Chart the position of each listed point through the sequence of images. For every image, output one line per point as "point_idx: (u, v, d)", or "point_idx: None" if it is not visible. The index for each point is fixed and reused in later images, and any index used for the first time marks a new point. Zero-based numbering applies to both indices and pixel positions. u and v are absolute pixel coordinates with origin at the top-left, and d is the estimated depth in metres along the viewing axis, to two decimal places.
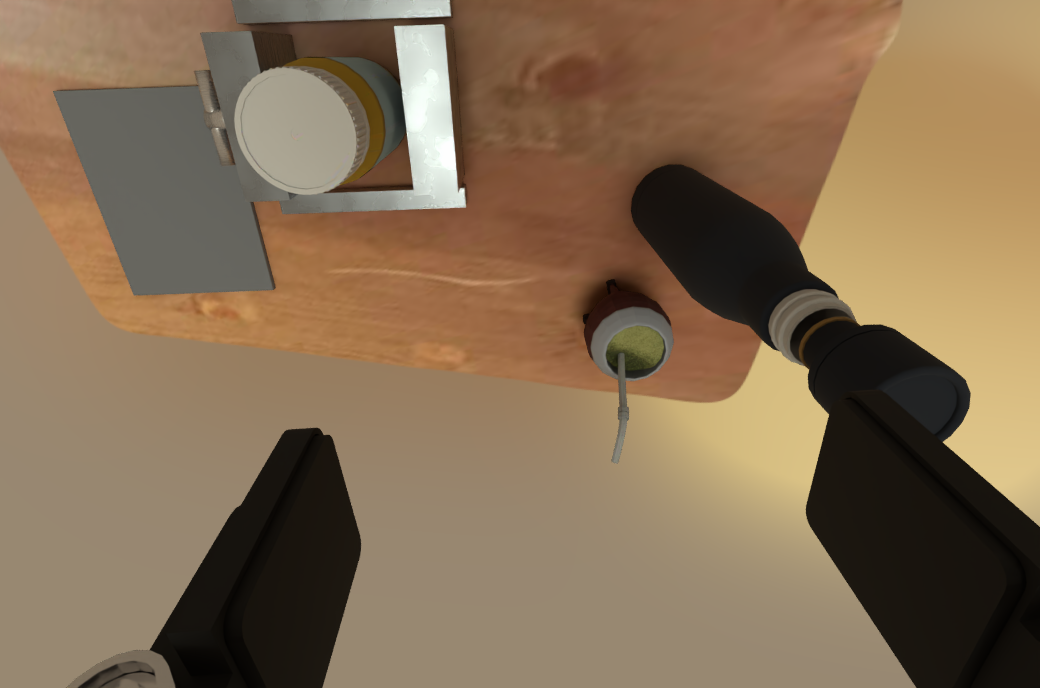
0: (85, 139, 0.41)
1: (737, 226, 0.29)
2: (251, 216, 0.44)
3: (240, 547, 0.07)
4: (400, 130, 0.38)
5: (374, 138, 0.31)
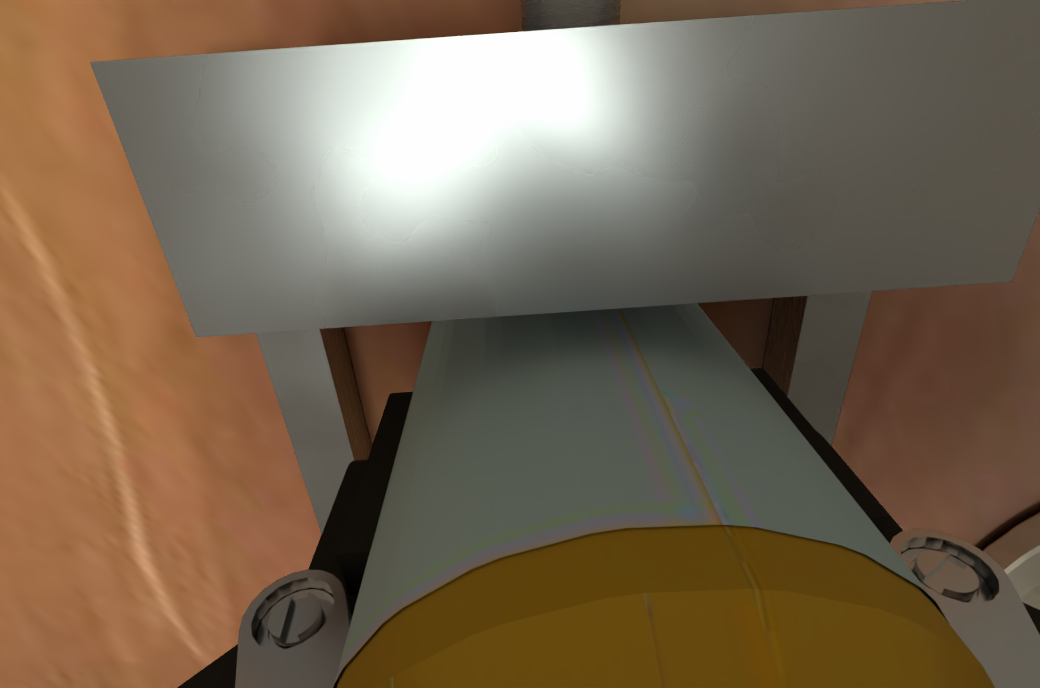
0: None
1: None
2: None
3: (380, 487, 0.08)
4: None
5: None
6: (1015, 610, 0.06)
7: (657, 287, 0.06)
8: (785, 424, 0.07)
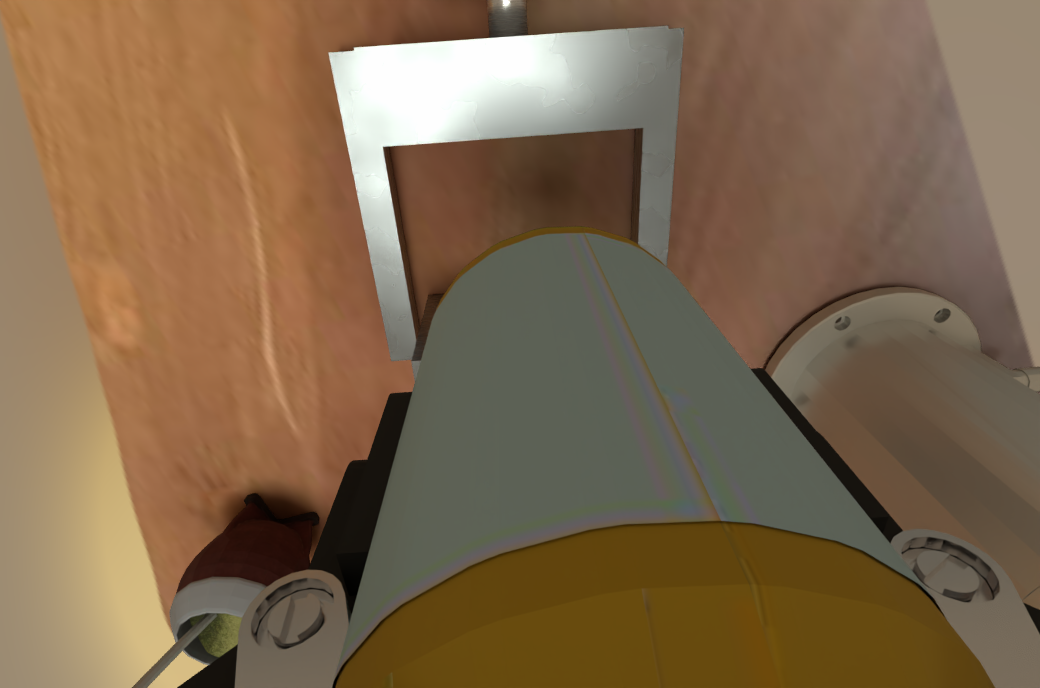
0: None
1: None
2: None
3: (380, 487, 0.08)
4: None
5: None
6: (1015, 610, 0.06)
7: (536, 128, 0.18)
8: (784, 422, 0.07)
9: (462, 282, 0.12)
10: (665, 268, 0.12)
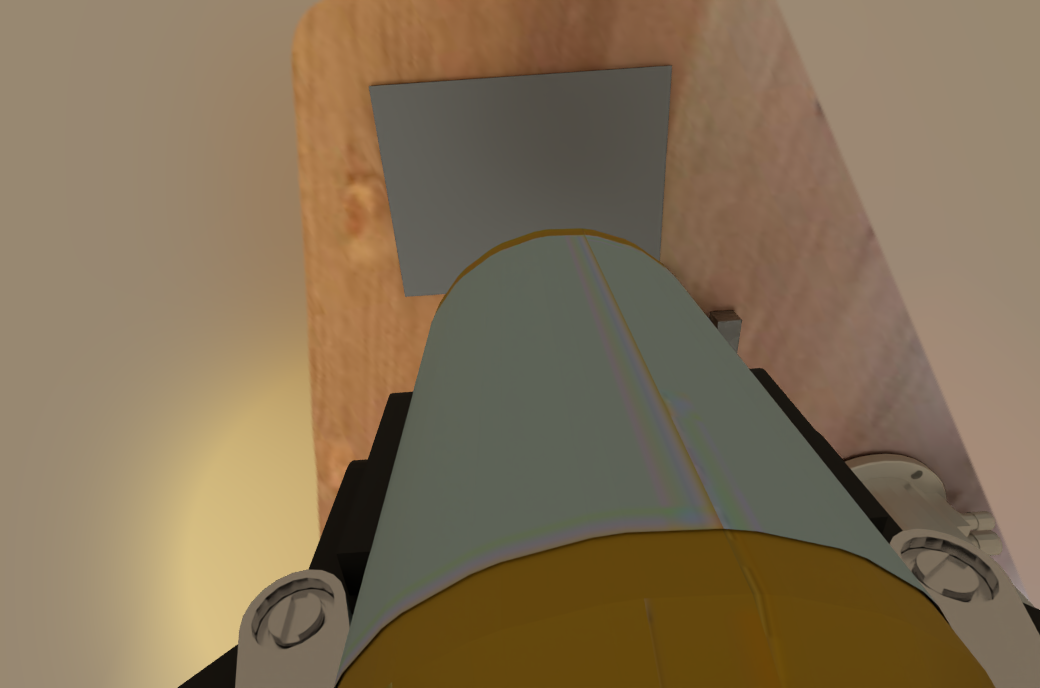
0: (608, 89, 0.29)
1: None
2: None
3: (380, 487, 0.08)
4: None
5: None
6: (1015, 610, 0.06)
7: None
8: (786, 426, 0.07)
9: (462, 284, 0.12)
10: (665, 270, 0.12)
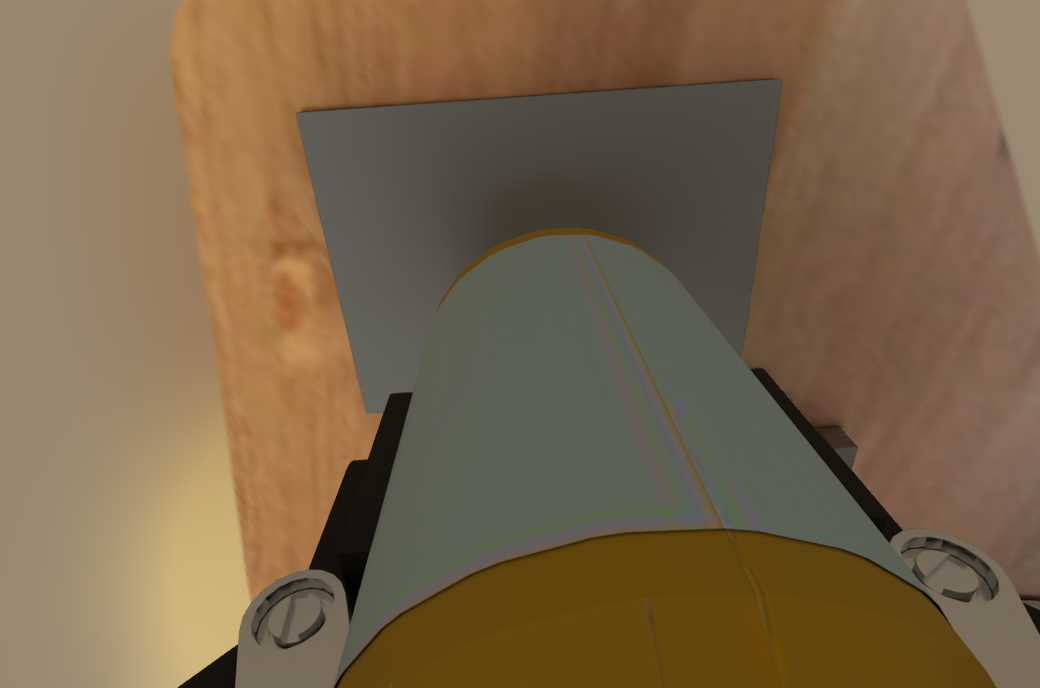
0: (678, 117, 0.18)
1: None
2: None
3: (380, 487, 0.08)
4: None
5: None
6: (1015, 610, 0.06)
7: None
8: (786, 426, 0.07)
9: (462, 284, 0.12)
10: (666, 270, 0.12)
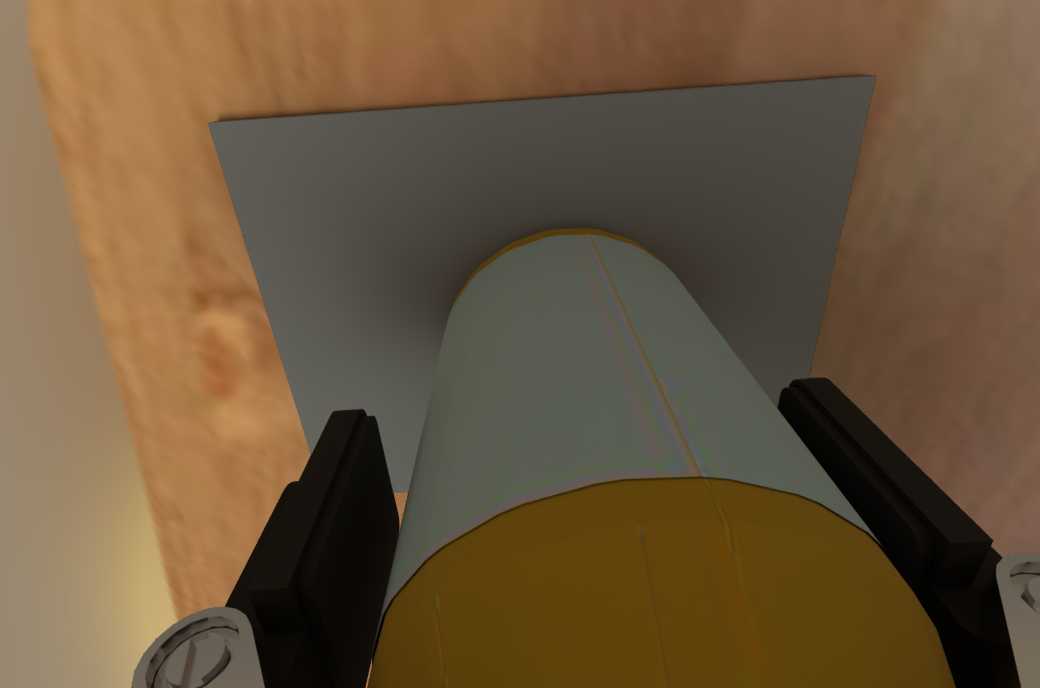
0: (731, 128, 0.13)
1: None
2: None
3: (305, 515, 0.07)
4: None
5: None
6: None
7: None
8: (764, 403, 0.08)
9: (478, 280, 0.13)
10: (665, 267, 0.13)
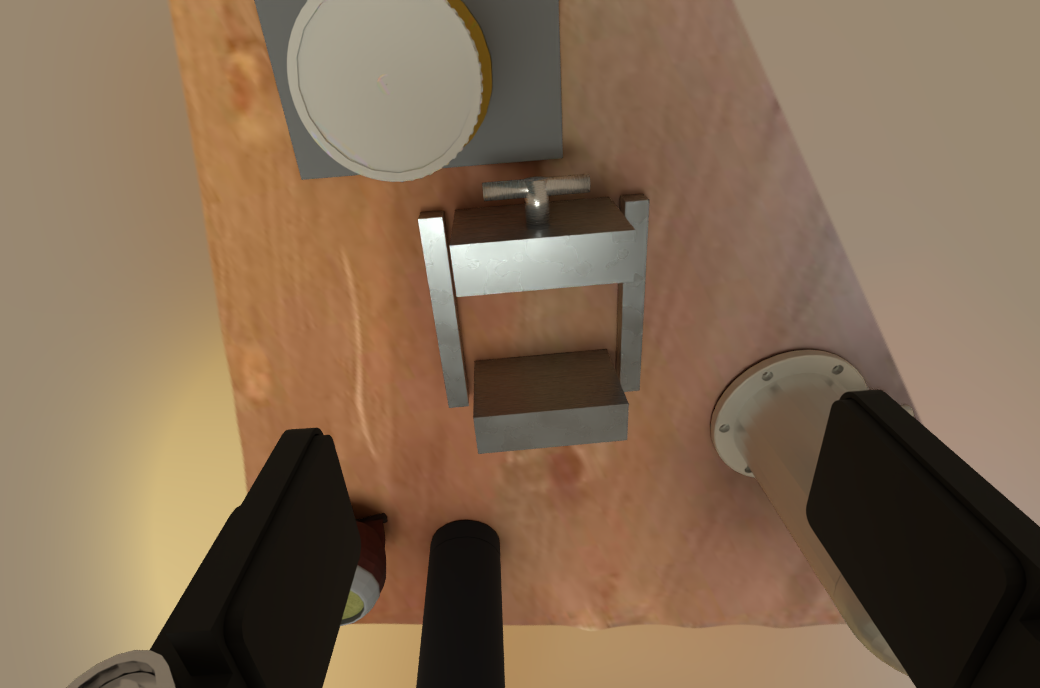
0: None
1: None
2: None
3: (240, 547, 0.07)
4: None
5: None
6: None
7: (556, 284, 0.30)
8: None
9: None
10: None
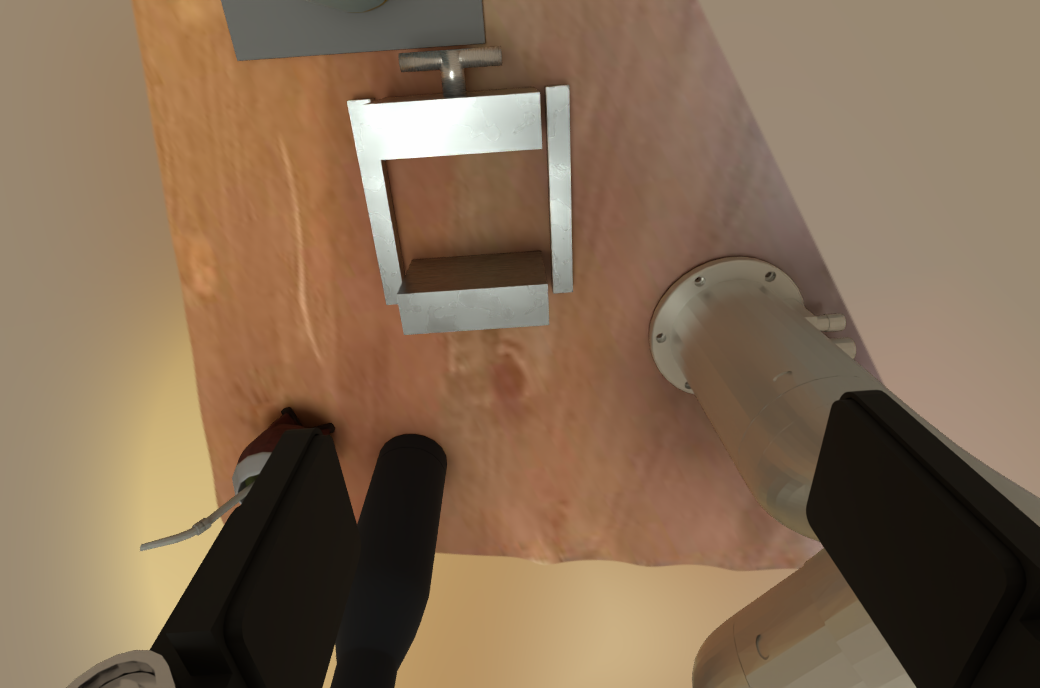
0: None
1: (415, 604, 0.36)
2: (335, 50, 0.35)
3: (240, 547, 0.07)
4: None
5: None
6: None
7: (467, 149, 0.31)
8: None
9: None
10: None
